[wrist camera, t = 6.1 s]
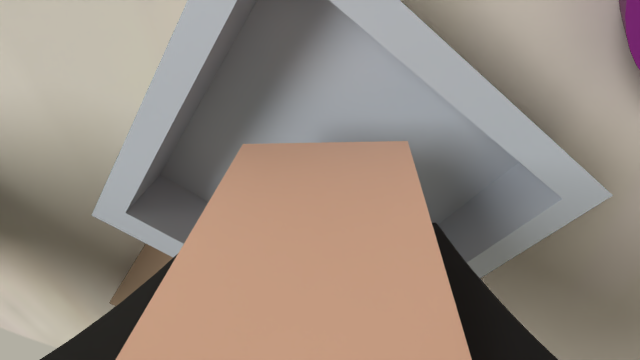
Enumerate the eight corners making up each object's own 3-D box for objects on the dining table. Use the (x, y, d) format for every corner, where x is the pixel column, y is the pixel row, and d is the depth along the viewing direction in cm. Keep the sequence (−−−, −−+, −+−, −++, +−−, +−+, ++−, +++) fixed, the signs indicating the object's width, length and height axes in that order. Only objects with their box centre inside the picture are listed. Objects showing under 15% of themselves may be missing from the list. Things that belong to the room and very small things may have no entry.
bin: (140, 167, 16) (91, 215, 13) (280, -109, 10) (249, -137, 7) (358, 292, 19) (359, 353, 16) (555, 143, 13) (613, 195, 10)
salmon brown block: (266, 258, 13) (178, 564, 7) (242, 143, 10) (50, 470, 4) (397, 260, 13) (444, 595, 6) (407, 140, 10) (516, 512, 3)
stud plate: (119, 289, 21) (68, 360, 17) (176, 196, 16) (124, 265, 13) (245, 348, 23) (225, 421, 19) (325, 281, 19) (318, 359, 15)
